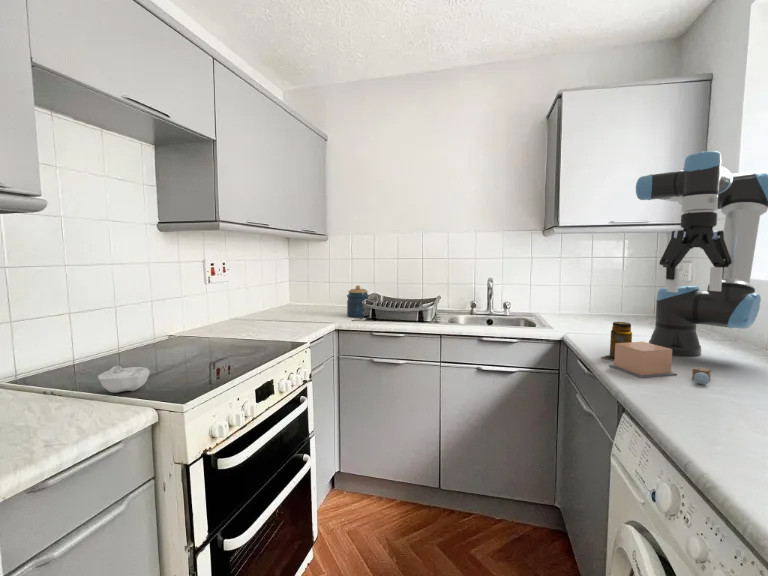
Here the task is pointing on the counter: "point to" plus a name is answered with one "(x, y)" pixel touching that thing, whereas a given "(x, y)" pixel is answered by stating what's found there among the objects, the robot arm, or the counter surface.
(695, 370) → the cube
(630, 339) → the condiment
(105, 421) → the counter surface
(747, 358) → the counter surface
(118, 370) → the cell model
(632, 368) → the salmon tan box
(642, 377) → the mat
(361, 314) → the canister
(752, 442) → the counter surface
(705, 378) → the ball
